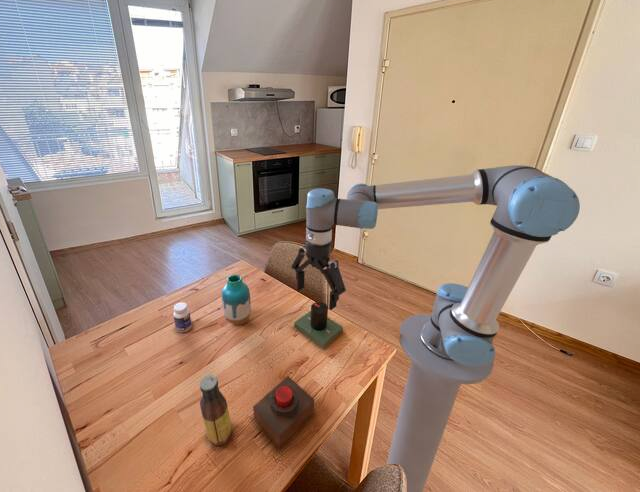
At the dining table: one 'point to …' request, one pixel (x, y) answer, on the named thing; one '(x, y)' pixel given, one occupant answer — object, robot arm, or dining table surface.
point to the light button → (283, 396)
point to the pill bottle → (182, 317)
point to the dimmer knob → (319, 316)
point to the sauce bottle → (214, 411)
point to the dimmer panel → (318, 337)
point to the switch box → (283, 413)
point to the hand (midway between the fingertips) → (315, 297)
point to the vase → (236, 300)
